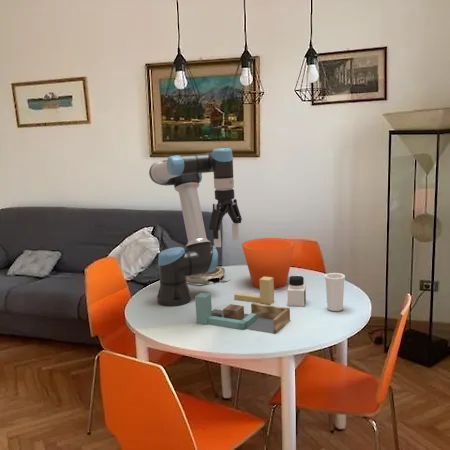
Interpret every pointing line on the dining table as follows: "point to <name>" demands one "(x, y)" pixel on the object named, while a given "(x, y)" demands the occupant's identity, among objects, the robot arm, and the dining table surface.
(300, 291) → the medicine bottle
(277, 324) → the wooden l-shaped bracket
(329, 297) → the cup
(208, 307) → the crook
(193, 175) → the robot arm
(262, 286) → the yellow l-shaped block
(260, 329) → the runner mat
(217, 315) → the black round disc
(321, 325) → the dining table surface
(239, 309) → the walnut block
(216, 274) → the pie
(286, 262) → the flowerpot
